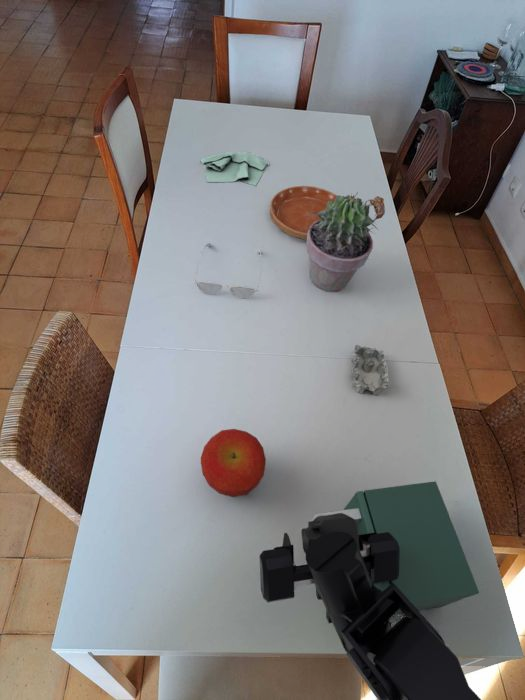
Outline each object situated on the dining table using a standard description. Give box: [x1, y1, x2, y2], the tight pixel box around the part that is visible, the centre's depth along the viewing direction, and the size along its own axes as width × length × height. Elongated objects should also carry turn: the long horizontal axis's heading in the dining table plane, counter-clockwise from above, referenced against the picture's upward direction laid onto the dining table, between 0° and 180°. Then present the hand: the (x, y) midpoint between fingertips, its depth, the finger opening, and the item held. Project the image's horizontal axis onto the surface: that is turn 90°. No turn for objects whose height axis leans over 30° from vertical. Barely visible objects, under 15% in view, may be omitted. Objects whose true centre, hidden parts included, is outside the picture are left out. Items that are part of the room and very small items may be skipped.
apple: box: [200, 428, 267, 498], centre depth 78 cm, size 11×11×12 cm
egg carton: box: [351, 344, 389, 396], centre depth 98 cm, size 11×8×4 cm
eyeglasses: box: [193, 242, 263, 299], centre depth 113 cm, size 15×18×4 cm
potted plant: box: [299, 191, 386, 293], centre depth 107 cm, size 18×20×25 cm
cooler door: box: [306, 490, 390, 592], centre depth 70 cm, size 8×16×13 cm, turn 9°
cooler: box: [363, 480, 480, 617], centre depth 72 cm, size 12×16×13 cm
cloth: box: [199, 151, 269, 187], centre depth 142 cm, size 20×22×2 cm
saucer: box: [269, 185, 338, 241], centre depth 129 cm, size 23×23×4 cm
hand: (311, 531), depth 69 cm, fingers open, 8 cm apart
